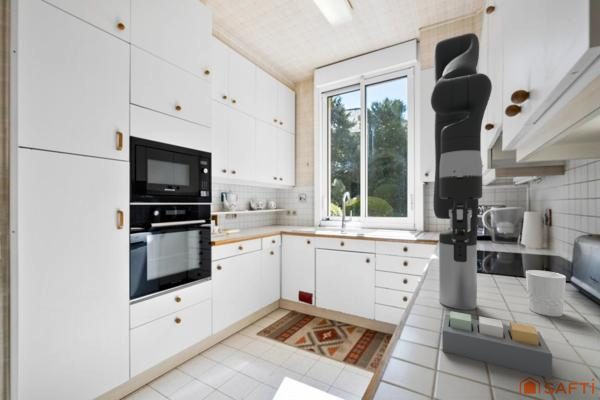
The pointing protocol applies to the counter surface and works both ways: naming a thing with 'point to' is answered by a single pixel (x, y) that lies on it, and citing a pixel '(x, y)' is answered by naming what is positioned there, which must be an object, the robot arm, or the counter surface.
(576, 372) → the counter surface
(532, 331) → the amber key
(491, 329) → the off-white key
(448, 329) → the keypad
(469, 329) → the sage green key
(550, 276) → the white cup
